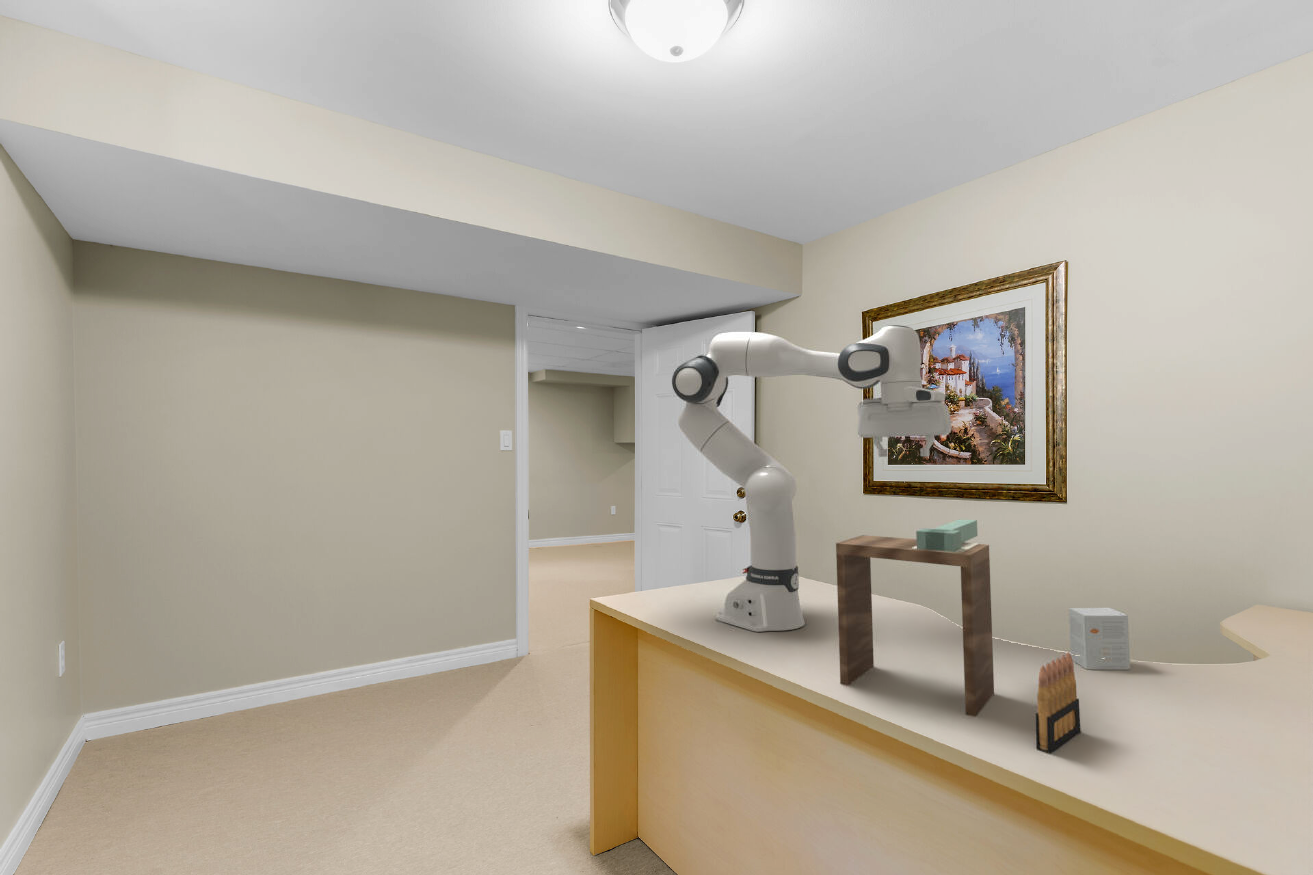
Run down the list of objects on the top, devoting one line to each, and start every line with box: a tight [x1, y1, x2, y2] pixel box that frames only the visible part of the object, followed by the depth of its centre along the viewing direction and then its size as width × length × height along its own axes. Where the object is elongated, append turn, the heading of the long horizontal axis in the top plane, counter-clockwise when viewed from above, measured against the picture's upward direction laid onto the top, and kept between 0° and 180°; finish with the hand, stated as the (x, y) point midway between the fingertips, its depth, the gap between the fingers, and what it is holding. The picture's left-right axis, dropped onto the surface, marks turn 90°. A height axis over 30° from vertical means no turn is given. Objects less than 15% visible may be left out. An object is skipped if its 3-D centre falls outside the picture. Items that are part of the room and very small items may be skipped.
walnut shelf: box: [835, 534, 995, 718], centre depth 112 cm, size 23×12×26 cm, turn 49°
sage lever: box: [915, 518, 978, 552], centre depth 111 cm, size 6×20×3 cm, turn 138°
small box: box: [1068, 607, 1131, 671], centre depth 120 cm, size 8×6×10 cm
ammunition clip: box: [1035, 652, 1082, 754], centre depth 91 cm, size 11×2×12 cm, turn 126°
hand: (903, 456), depth 141 cm, fingers open, 8 cm apart
